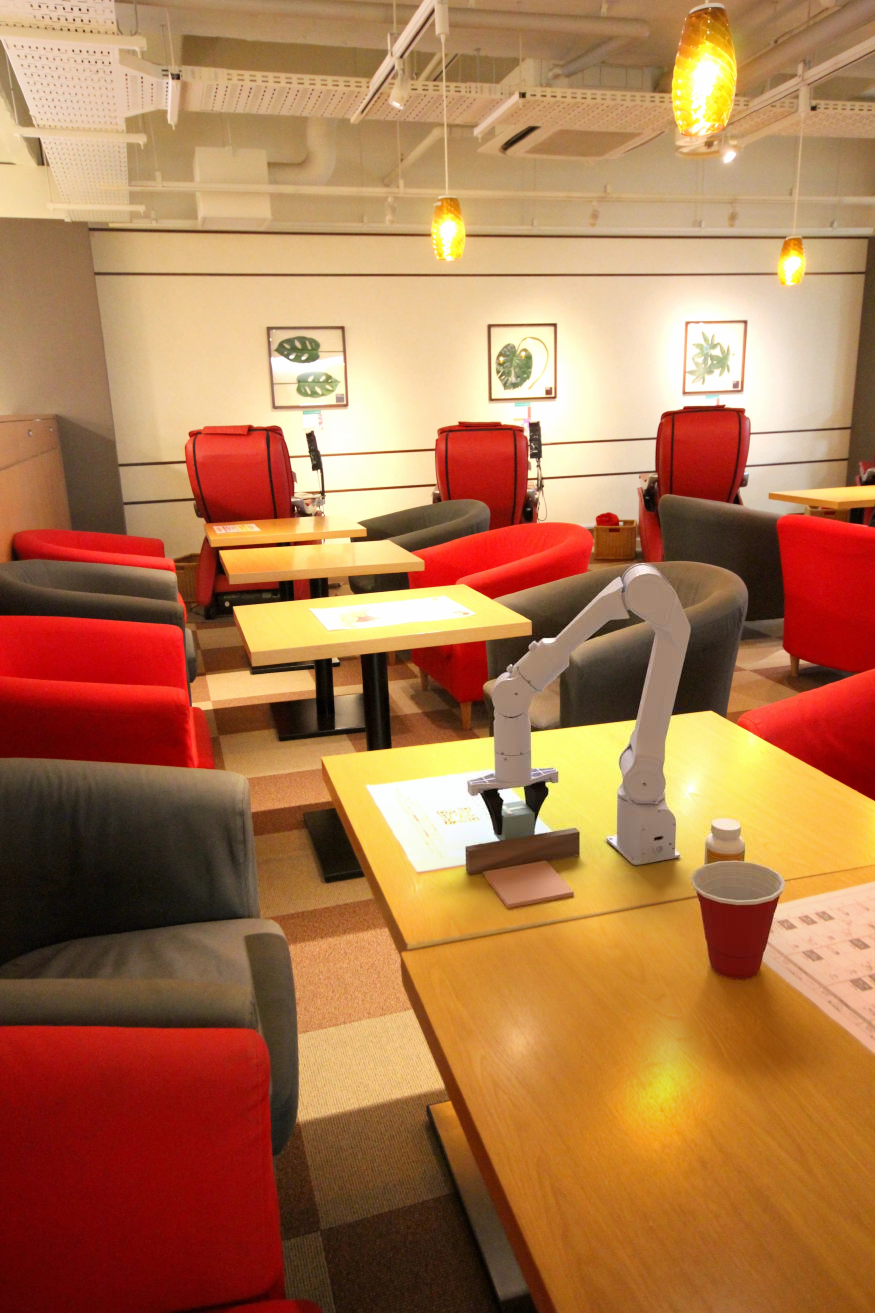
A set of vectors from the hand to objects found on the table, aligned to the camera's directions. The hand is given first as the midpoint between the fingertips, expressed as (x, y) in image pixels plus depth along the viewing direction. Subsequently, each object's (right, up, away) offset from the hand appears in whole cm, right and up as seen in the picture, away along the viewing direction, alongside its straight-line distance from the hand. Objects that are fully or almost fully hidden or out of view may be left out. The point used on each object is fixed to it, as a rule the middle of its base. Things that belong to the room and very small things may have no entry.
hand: (514, 829), depth 144 cm
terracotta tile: (+1, -6, -12) cm, 14 cm away
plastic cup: (+24, -11, -33) cm, 42 cm away
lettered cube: (0, -1, 0) cm, 1 cm away
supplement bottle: (+29, -6, -15) cm, 33 cm away
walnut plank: (+1, -4, -6) cm, 7 cm away
